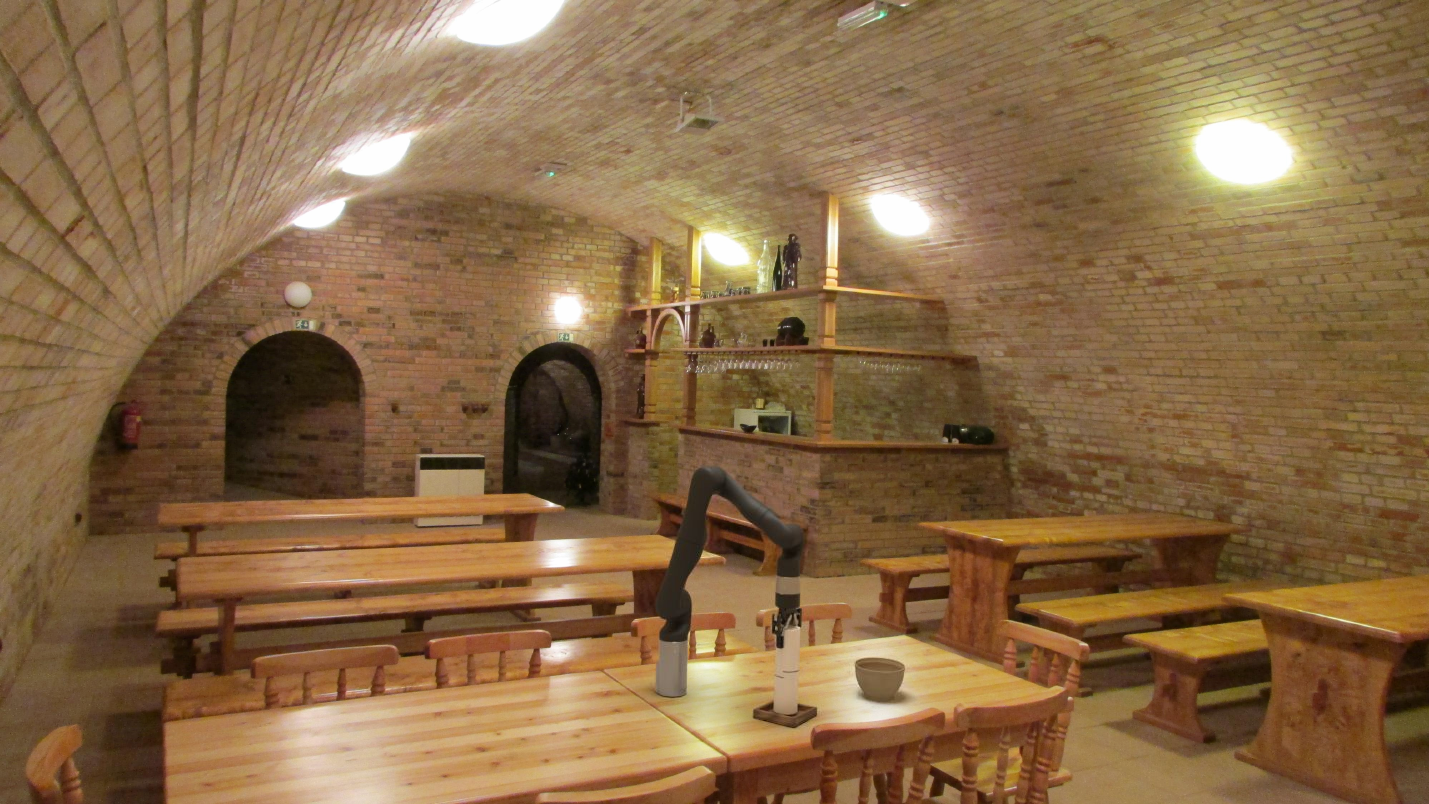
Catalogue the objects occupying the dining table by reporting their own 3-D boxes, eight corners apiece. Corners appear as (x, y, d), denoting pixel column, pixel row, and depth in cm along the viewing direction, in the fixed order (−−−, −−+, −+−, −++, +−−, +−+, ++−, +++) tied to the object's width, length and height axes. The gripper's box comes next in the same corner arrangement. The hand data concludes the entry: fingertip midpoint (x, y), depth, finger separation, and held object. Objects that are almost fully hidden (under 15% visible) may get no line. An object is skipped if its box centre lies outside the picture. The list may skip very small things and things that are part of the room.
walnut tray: (753, 717, 288) (753, 709, 288) (776, 706, 300) (777, 698, 300) (794, 727, 280) (794, 718, 280) (817, 715, 292) (817, 707, 292)
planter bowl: (848, 701, 307) (849, 667, 307) (860, 687, 322) (861, 654, 322) (898, 708, 301) (899, 673, 301) (908, 694, 316) (909, 660, 316)
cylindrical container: (796, 715, 286) (799, 631, 286) (772, 713, 288) (775, 629, 287) (798, 707, 293) (801, 625, 293) (774, 705, 295) (777, 623, 294)
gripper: (788, 586, 299) (787, 639, 298) (764, 592, 287) (763, 648, 287) (810, 589, 294) (808, 643, 294) (786, 595, 283) (785, 652, 282)
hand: (786, 645), depth 290 cm, fingers open, 7 cm apart
